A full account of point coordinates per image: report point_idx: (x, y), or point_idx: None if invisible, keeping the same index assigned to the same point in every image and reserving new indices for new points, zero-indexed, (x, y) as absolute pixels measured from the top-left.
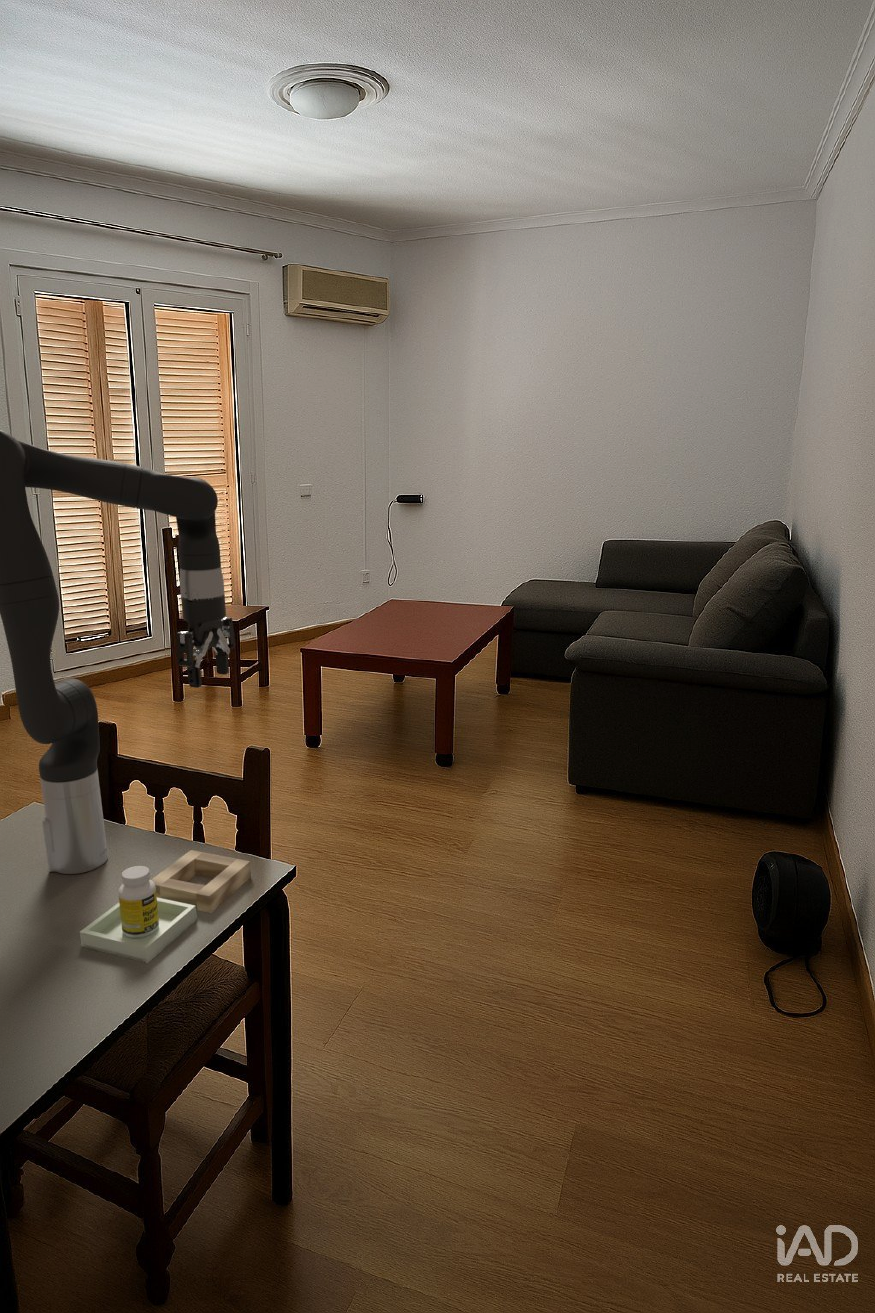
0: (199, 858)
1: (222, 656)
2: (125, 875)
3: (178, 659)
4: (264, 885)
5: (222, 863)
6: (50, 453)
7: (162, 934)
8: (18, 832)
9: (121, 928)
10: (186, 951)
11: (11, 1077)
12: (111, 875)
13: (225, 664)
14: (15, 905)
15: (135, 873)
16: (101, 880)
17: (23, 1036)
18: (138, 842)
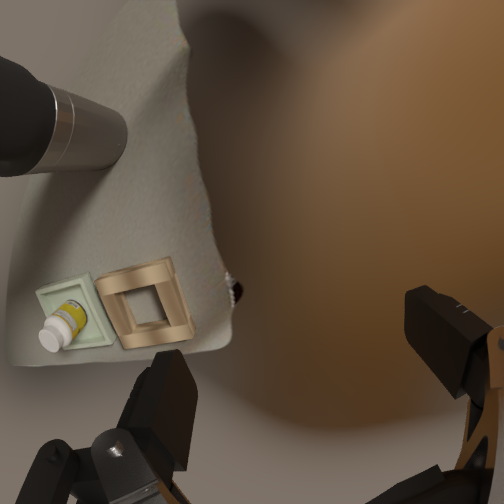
0: (158, 288)
1: (456, 379)
2: (40, 337)
3: (35, 473)
4: (194, 347)
5: (169, 318)
6: None
7: (77, 348)
8: (115, 23)
9: (66, 297)
10: (93, 356)
11: (5, 346)
12: (102, 196)
13: (429, 364)
14: (32, 176)
15: (47, 343)
16: (91, 198)
17: (9, 328)
18: (168, 147)
